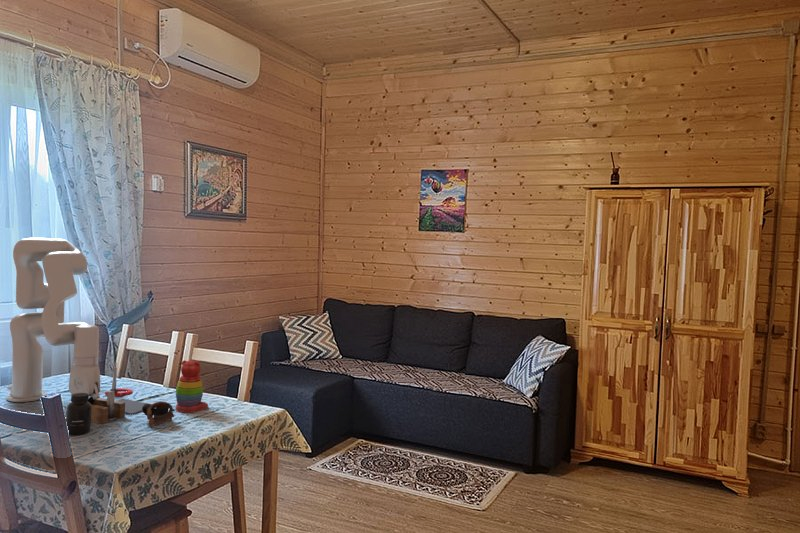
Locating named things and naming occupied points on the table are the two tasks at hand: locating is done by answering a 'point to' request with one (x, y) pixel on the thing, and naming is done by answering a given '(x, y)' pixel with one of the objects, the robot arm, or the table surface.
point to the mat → (132, 406)
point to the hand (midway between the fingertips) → (84, 413)
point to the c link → (105, 410)
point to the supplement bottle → (79, 414)
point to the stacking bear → (190, 388)
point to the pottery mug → (158, 412)
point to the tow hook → (115, 384)
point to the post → (111, 405)
